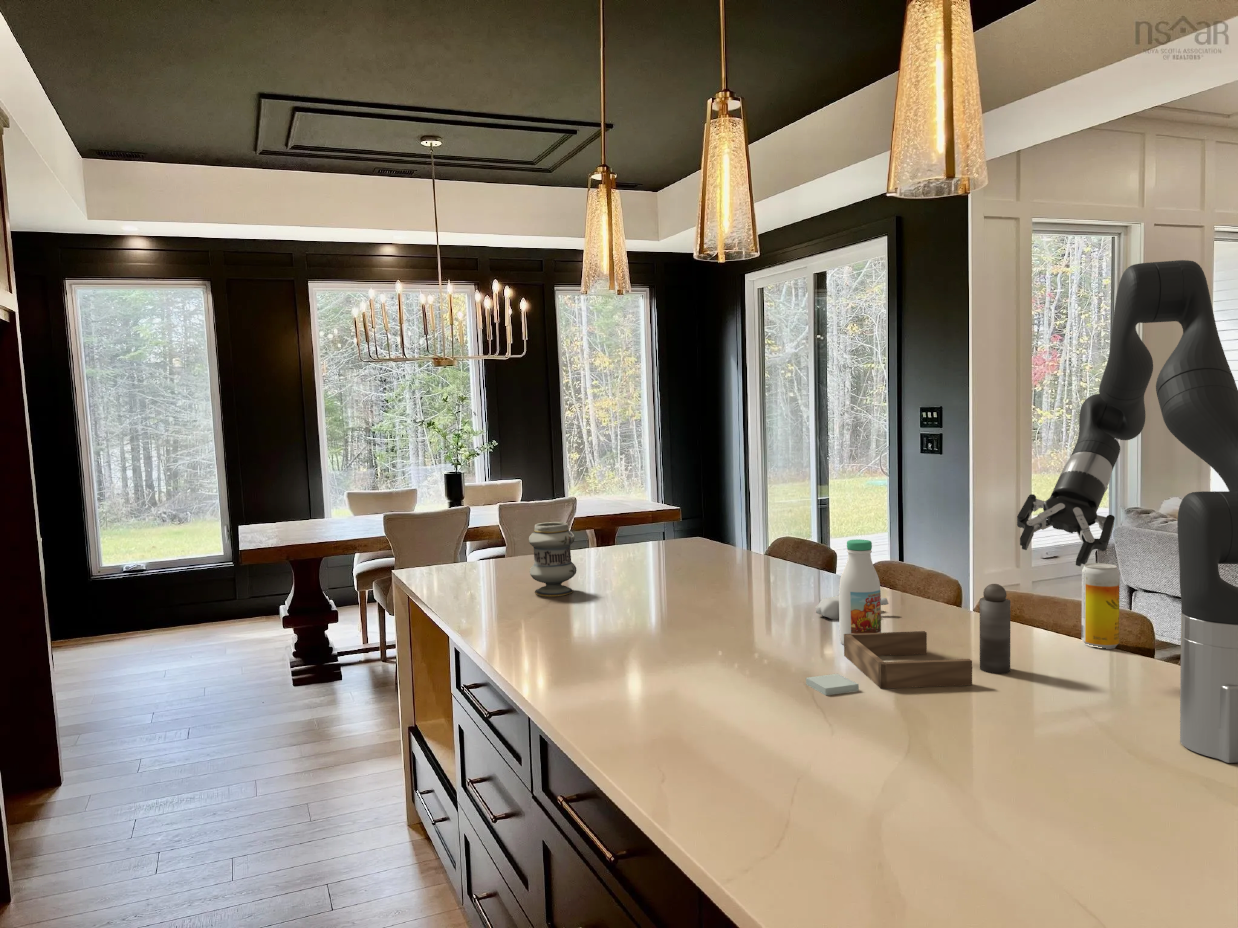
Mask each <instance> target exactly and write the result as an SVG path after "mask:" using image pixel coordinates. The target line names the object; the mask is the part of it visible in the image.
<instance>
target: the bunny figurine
mask: <svg viewBox="0 0 1238 928" xmlns="http://www.w3.org/2000/svg"><path fill="white" fill-rule="evenodd" d="M886 605H889V601H888V598H887V597H881V606H886ZM815 613H816V614H818V615H821V616H823V617H825V618H828V619H831V620H834V621H835V620H839V594H838V595H836V596H830V597H825V598H822V599H821V600H820V601H819V603H818V604H817V605H815Z"/></svg>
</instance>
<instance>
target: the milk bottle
mask: <svg viewBox="0 0 1238 928" xmlns="http://www.w3.org/2000/svg"><path fill="white" fill-rule="evenodd" d="M846 549H847V550H846V552H847V553H848V555H847V560H846V562H845V566H844V568H843V570H842V573H841V575H840V578H839V587H838V588H839V589H838V591H839V593H838V595H839V619H838V620H839V624H838V625H839V626H838V627H839V641H840V644H842V645H843V646H844V634H858V633H882V605H881V598H882V597H881V596H882V595H881V583H880V579H879V575H878V572H877V571H876V568H875V567H874V564H873V560H872V556H871V553H872V552H873V551H872V549H873V543H872V541H871V540H869V539H861V538H860V539H849V540H847V541H846Z"/></svg>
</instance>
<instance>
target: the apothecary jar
mask: <svg viewBox="0 0 1238 928" xmlns="http://www.w3.org/2000/svg"><path fill="white" fill-rule="evenodd" d="M575 537H576V536H575V534H574V533H573V532H572V531H571V530H570V529H569V527H568V522H564V521H551V522H549V521H546V522H541V523H539V522H538V523H536V524H534V530H533V531H532V533H531V534H530V535H529V537H528V544H530V545H531V546H532V547H533V564H532V566H531V567H530V569H529V575H530V577H532V579H533V580H535V581H536V582H539V583H542V584H545V585H544V586H541V587H539V588H537V589H536V590H534V593H535V596H539V597H562V596H567V595H570V594H572V593H574V591H573V588H571V587H568V585H564V584H563V585H562V583H565V582H567V581H568V580H571V579H572V578H574V576H575V575H576V574H577V567H576V565H575V563H574V562H572V555H571V552H572V551H571V545H572V544H573V543H574V542H575Z"/></svg>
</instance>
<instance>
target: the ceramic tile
mask: <svg viewBox="0 0 1238 928" xmlns="http://www.w3.org/2000/svg"><path fill="white" fill-rule="evenodd" d="M805 685H807V686H808V687H810V688H812V689H813V690H815V691H817V692H819V693H821V694H822V695H823V696H831V695H833V696H834V695H838V694H839V695H840V694H847V693H853V692H854V693H855V692H859V690H860V689H859V688H860V687H859V683H857V682H855V681H853V680H851V679H850V678H847V677H845V676H844V675H841V674H839V673H833V674H826V675H825V674H824V675H817V676H809V677H805Z"/></svg>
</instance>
